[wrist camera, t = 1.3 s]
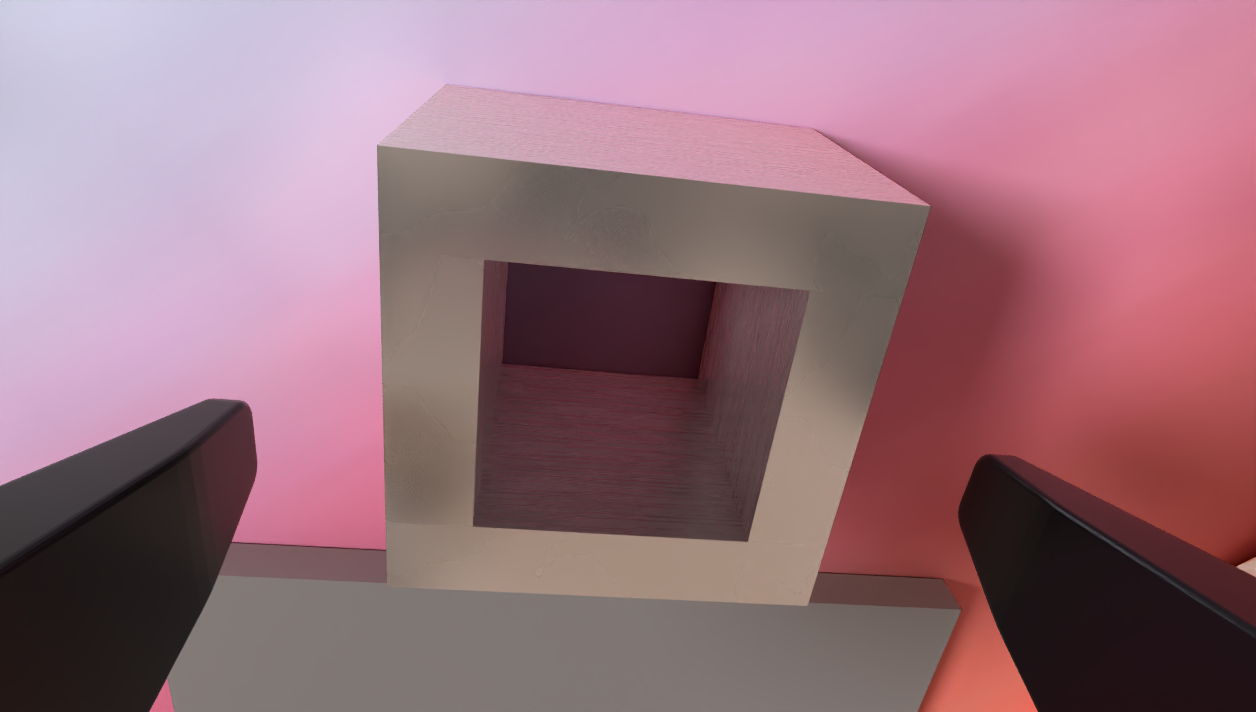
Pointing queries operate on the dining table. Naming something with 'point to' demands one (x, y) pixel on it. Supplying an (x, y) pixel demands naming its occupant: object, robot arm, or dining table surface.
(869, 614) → the post plate
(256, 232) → the dining table surface
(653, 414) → the grey hollow square block
